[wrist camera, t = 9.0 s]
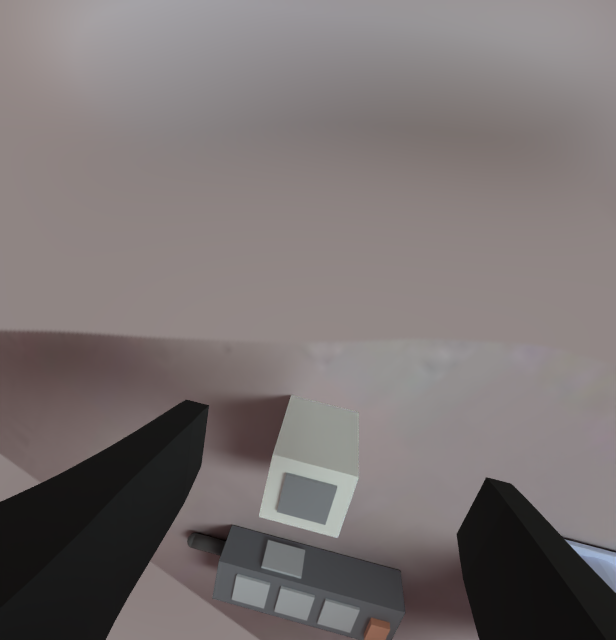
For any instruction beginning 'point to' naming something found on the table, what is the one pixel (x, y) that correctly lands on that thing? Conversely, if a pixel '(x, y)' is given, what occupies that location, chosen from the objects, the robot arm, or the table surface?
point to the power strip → (305, 584)
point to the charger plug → (313, 467)
